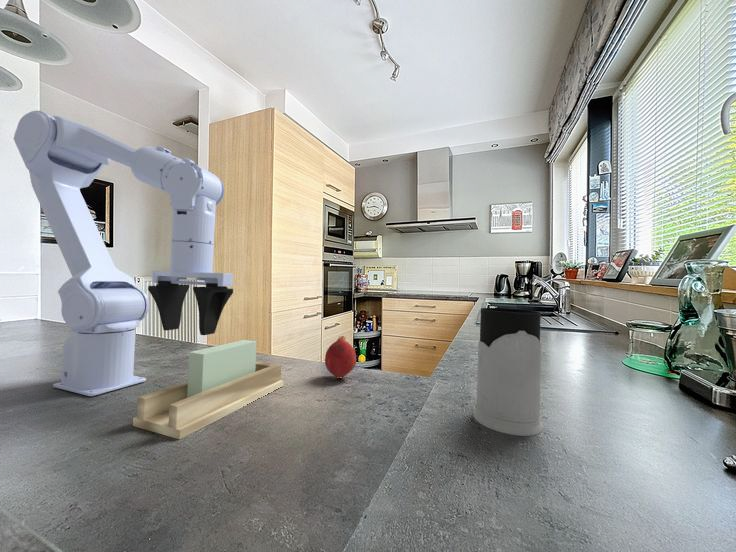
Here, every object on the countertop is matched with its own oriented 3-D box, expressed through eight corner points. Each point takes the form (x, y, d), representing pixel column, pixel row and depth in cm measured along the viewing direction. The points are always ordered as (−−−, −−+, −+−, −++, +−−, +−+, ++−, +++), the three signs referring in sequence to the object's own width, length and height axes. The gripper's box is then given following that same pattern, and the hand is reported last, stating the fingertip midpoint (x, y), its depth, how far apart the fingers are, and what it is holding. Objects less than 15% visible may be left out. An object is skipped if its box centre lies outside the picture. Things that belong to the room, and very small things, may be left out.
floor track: (133, 425, 36) (134, 396, 36) (247, 380, 54) (247, 360, 54) (179, 439, 34) (181, 407, 34) (283, 386, 52) (284, 365, 52)
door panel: (186, 405, 40) (189, 352, 40) (242, 383, 50) (244, 339, 50) (200, 409, 39) (203, 354, 39) (254, 385, 49) (256, 341, 49)
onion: (350, 385, 53) (352, 339, 54) (319, 382, 55) (321, 337, 55) (358, 375, 59) (360, 334, 59) (330, 373, 60) (331, 332, 60)
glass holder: (484, 433, 38) (488, 311, 38) (456, 392, 52) (459, 304, 52) (557, 437, 38) (560, 314, 38) (509, 395, 52) (511, 306, 52)
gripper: (249, 246, 49) (245, 332, 49) (182, 247, 54) (178, 324, 54) (212, 240, 42) (208, 339, 42) (140, 241, 47) (136, 330, 47)
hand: (188, 331), depth 47 cm, fingers open, 7 cm apart
